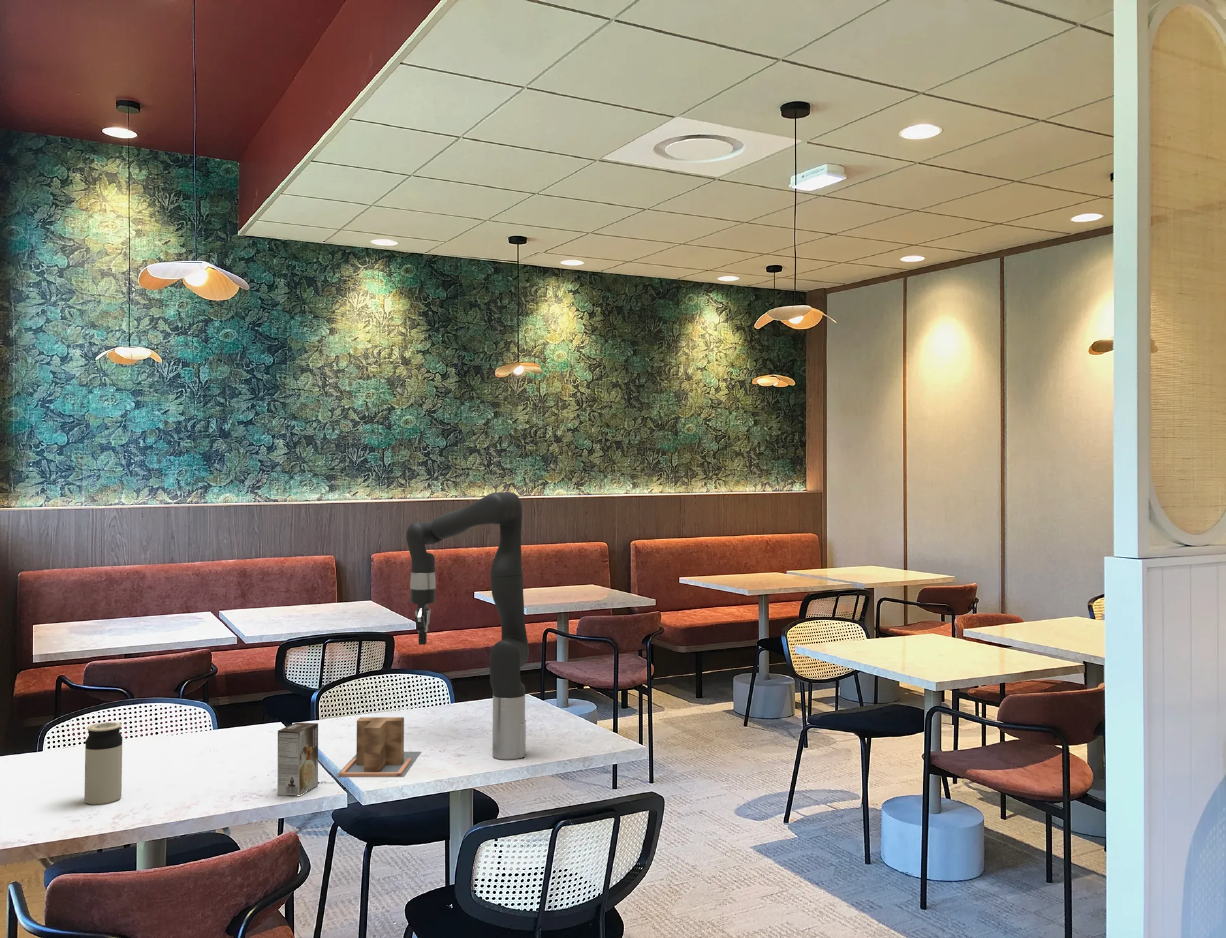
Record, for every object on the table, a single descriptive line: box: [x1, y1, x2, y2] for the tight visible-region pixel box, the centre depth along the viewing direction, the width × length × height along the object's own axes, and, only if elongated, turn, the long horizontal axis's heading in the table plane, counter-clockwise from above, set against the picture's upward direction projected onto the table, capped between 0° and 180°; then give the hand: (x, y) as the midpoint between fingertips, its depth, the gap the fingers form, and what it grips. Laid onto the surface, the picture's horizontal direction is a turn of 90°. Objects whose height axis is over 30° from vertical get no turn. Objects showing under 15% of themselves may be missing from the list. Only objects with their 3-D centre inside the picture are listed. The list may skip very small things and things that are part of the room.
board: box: [334, 751, 422, 778], centre depth 262 cm, size 18×25×2 cm
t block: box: [355, 716, 405, 772], centre depth 259 cm, size 12×12×12 cm
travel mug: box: [83, 721, 123, 806], centre depth 234 cm, size 8×8×18 cm
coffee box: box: [276, 722, 319, 796], centre depth 242 cm, size 9×6×16 cm
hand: (422, 644), depth 293 cm, fingers closed
